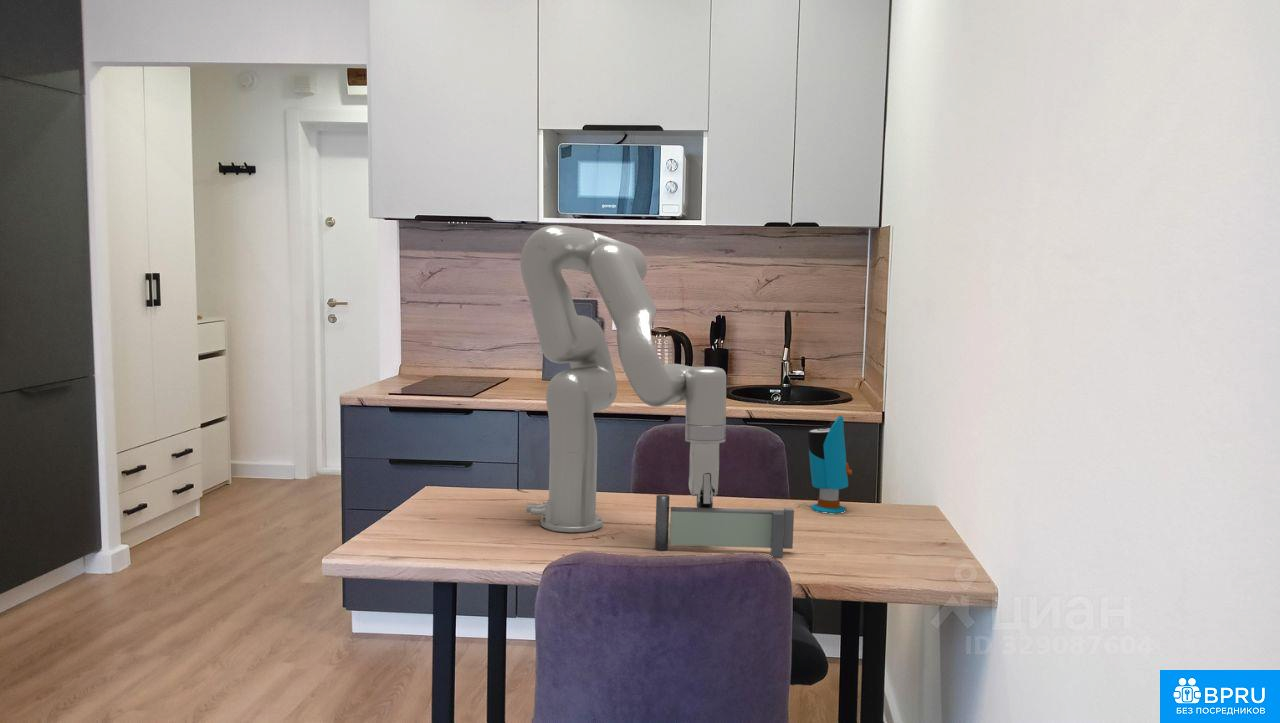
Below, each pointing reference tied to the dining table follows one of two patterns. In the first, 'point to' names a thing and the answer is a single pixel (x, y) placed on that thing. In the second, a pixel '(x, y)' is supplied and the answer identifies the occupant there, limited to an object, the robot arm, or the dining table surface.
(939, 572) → the dining table surface
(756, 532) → the gate
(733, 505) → the dining table surface
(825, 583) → the dining table surface
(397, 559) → the dining table surface
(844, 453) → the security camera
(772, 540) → the gate frame
